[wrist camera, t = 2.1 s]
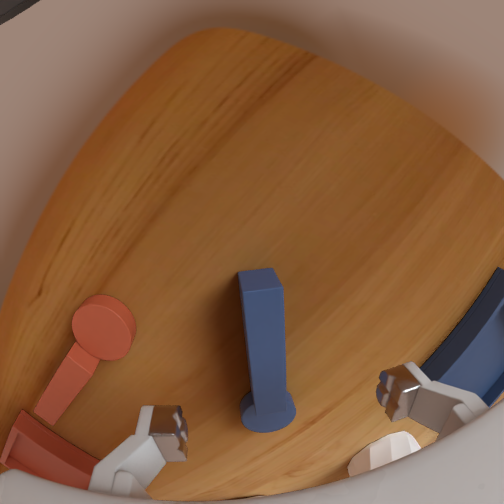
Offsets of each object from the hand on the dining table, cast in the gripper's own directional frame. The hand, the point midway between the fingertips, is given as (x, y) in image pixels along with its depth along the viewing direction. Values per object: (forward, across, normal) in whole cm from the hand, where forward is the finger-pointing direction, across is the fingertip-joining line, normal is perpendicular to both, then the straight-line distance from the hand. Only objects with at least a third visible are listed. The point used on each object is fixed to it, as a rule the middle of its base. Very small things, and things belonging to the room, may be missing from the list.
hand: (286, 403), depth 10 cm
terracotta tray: (+8, +26, +20) cm, 33 cm away
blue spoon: (+8, 0, +4) cm, 8 cm away
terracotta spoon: (+8, +13, +3) cm, 15 cm away
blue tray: (+8, -25, +11) cm, 29 cm away
